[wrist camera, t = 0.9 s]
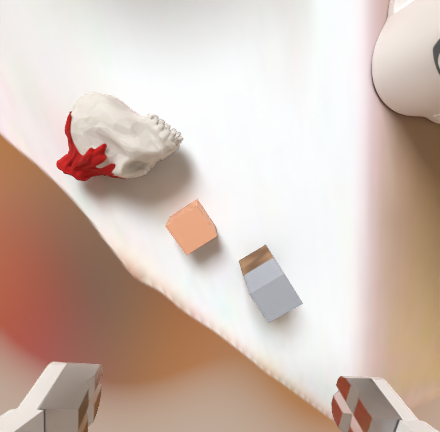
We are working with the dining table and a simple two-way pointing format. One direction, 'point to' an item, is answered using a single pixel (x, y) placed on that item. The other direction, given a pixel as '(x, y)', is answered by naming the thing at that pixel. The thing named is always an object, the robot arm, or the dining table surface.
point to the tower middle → (271, 290)
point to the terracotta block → (191, 227)
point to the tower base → (255, 259)
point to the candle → (114, 139)
